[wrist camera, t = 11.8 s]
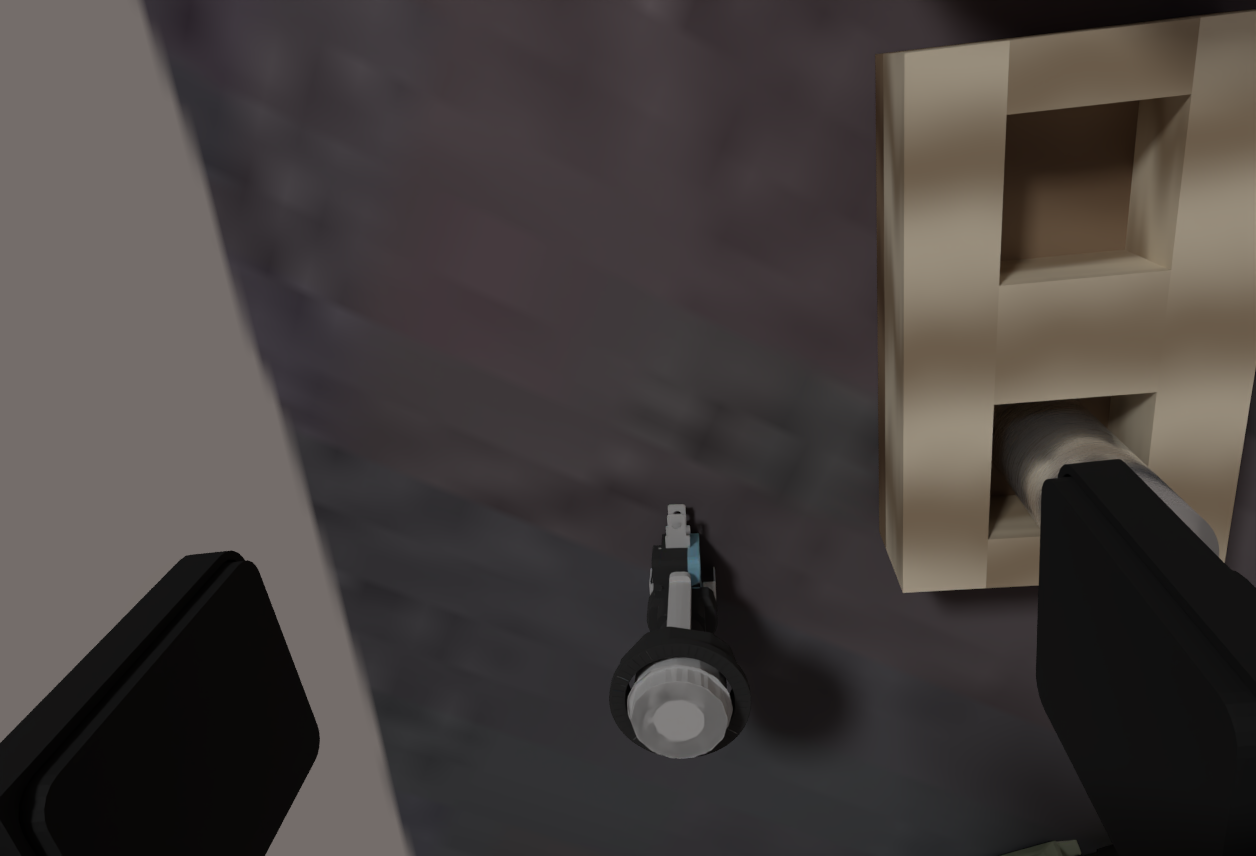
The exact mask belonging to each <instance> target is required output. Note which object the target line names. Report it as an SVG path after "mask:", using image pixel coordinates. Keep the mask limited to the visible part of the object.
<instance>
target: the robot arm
mask: <svg viewBox="0 0 1256 856" xmlns="http://www.w3.org/2000/svg"><path fill="white" fill-rule="evenodd" d="M1036 680H1037V687H1038V692H1039V696H1040V699H1041V702H1042V705H1043V707H1044V710H1045V712H1046V714H1047V715H1048V717H1049V719H1050V721H1051V723H1052V725H1053V727H1054V729H1055V731H1056V733H1057V735H1058V737H1059V739H1060V741H1061V743H1062V745H1063V747H1064V749H1065V751H1066V753H1067V755H1068V757H1069V759H1070V761H1071V763H1072V765H1073V767H1074V769H1075V770H1076V772H1077V774H1078V776H1079V778H1080V780H1081V782H1082V784H1083V786H1084V788H1085V790H1086V792H1087V794H1088V796H1089V798H1090V800H1091V802H1092V804H1093V806H1094V808H1095V810H1096V812H1097V814H1098V816H1099V818H1100V820H1101V822H1102V824H1103V826H1104V827H1105V829H1106V831H1107V833H1108V835H1109V837H1110V839H1111V841H1112V843H1113V845H1114V847H1115V849H1116V851H1117V853H1118V855H1119V856H1256V588H1255V587H1254V586H1253V585H1252V584H1251V583H1250V582H1249V581H1248V580H1247V579H1246V578H1245V577H1243V576H1242V575H1241V574H1239V573H1238V572H1236V571H1233V570H1231V569H1230V568H1229V567H1228V566H1227V565H1226V564H1225V563H1224V562H1223V561H1222V560H1221V559H1220V558H1219V557H1218V556H1217V555H1216V554H1215V553H1214V552H1213V551H1212V550H1211V549H1210V548H1209V547H1208V546H1207V545H1206V544H1205V543H1204V542H1203V541H1202V540H1201V539H1200V538H1199V537H1198V536H1197V535H1196V534H1195V533H1194V532H1193V531H1192V530H1191V529H1190V528H1189V527H1188V526H1187V525H1186V524H1185V523H1184V522H1183V521H1182V520H1181V519H1180V518H1179V517H1178V516H1177V515H1176V514H1175V513H1174V512H1173V511H1172V509H1171V508H1170V507H1169V506H1168V505H1167V504H1166V503H1165V502H1164V501H1163V500H1162V499H1161V498H1160V497H1159V496H1158V495H1157V494H1156V493H1155V492H1154V491H1153V490H1152V489H1151V488H1150V487H1149V486H1148V485H1147V484H1146V483H1145V482H1144V481H1143V480H1142V479H1141V478H1140V477H1139V476H1138V475H1137V474H1136V473H1135V472H1134V471H1133V470H1132V469H1131V468H1130V467H1129V466H1128V465H1127V464H1126V463H1125V462H1124V461H1122V460H1121V459H1112V460H1102V461H1092V462H1083V463H1073V464H1064V465H1063V466H1062V467H1061V468H1060V471H1059V474H1058V478H1054V479H1046V480H1045V481H1044V483H1043V486H1042V493H1041V523H1040V556H1039V590H1038V624H1037V657H1036ZM319 742H320V737H319V730H318V726H317V723H316V721H315V718H314V715H313V713H312V710H311V707H310V705H309V702H308V700H307V697H306V694H305V691H304V689H303V686H302V684H301V681H300V678H299V675H298V673H297V670H296V668H295V665H294V662H293V660H292V657H291V654H290V652H289V649H288V647H287V644H286V641H285V639H284V636H283V633H282V631H281V628H280V625H279V623H278V620H277V618H276V615H275V612H274V610H273V607H272V604H271V602H270V599H269V597H268V594H267V591H266V589H265V586H264V584H263V581H262V578H261V576H260V573H259V571H258V569H257V567H256V566H255V565H254V564H253V563H252V562H250V561H245V560H244V558H243V557H242V556H241V555H240V554H239V553H237V552H235V551H224V552H215V553H204V554H195V555H188V556H185V557H184V558H183V559H181V560H180V561H179V562H178V563H177V564H176V565H175V566H174V567H173V568H172V569H171V570H170V571H169V572H168V573H167V574H166V575H165V576H164V577H163V578H162V579H161V580H160V581H159V582H158V583H157V584H156V585H155V586H154V587H153V588H152V589H151V590H150V591H149V592H148V593H147V594H146V595H145V596H144V597H143V598H142V599H141V600H140V601H139V602H138V603H137V604H136V605H135V606H134V607H133V609H131V610H130V612H129V613H128V614H127V615H126V616H125V617H124V618H123V619H122V620H121V621H120V622H119V623H118V624H117V625H116V626H115V627H114V628H113V629H112V630H111V631H110V632H109V633H108V634H107V635H106V636H105V637H104V638H103V639H102V640H101V641H100V642H99V643H98V644H97V645H96V646H95V647H94V648H93V649H92V650H91V651H90V652H89V653H88V654H87V655H86V656H85V657H84V658H83V659H82V660H81V661H80V662H79V663H78V665H76V666H75V668H74V669H73V670H72V671H71V672H70V673H69V674H68V675H67V676H66V677H65V678H64V679H63V680H62V681H61V682H60V683H59V684H58V685H57V686H56V687H55V688H54V689H53V690H52V691H51V692H50V693H49V694H48V695H47V696H46V697H45V698H44V699H43V700H42V701H41V702H40V703H39V704H38V705H37V706H36V707H35V708H34V709H33V710H32V711H31V712H30V713H29V715H27V716H26V718H25V719H24V720H22V721H21V722H20V723H19V725H18V726H17V727H16V728H15V729H14V730H13V731H12V732H11V733H10V734H9V735H8V736H7V737H6V738H5V739H4V740H3V741H2V742H1V743H0V856H265V854H266V853H267V851H268V849H269V847H270V845H271V843H272V841H273V839H274V837H275V835H276V834H277V832H278V830H279V828H280V826H281V824H282V822H283V820H284V818H285V816H286V815H287V813H288V811H289V809H290V807H291V805H292V803H293V801H294V799H295V797H296V796H297V794H298V792H299V790H300V788H301V786H302V784H303V782H304V780H305V778H306V777H307V775H308V773H309V771H310V769H311V767H312V765H313V763H314V761H315V759H316V757H317V754H318V750H319Z"/></svg>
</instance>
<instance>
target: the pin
mask: <svg viewBox="0 0 1256 856" xmlns="http://www.w3.org/2000/svg"><path fill="white" fill-rule="evenodd" d="M1112 459H1121V460H1122V461H1124V462H1125V463H1126V464H1127V465H1128V466H1129V467H1130V468H1131V469H1132V470H1133V471H1134V472H1135V473H1136V474H1137V475H1138V476H1139V477H1140V478H1141V479H1142V480H1143V481H1144V482H1145V483H1146V484H1147V485H1148V486H1149V487H1150V488H1151V489H1152V490H1153V491H1154V492H1155V493H1156V494H1157V495H1158V496H1159V497H1160V498H1161V499H1162V500H1163V501H1164V502H1165V503H1166V504H1167V505H1168V506H1169V507H1170V508H1171V509H1172V511H1173V512H1174V513H1175V514H1176V515H1177V516H1178V517H1179V518H1180V519H1181V520H1182V521H1183V522H1184V523H1185V524H1186V525H1187V526H1188V527H1189V528H1190V529H1191V530H1192V531H1193V532H1194V533H1195V534H1196V535H1197V536H1198V537H1199V538H1200V539H1201V540H1202V541H1203V542H1204V543H1205V544H1206V545H1207V546H1208V547H1209V548H1210V549H1211V550H1212V551H1213V552H1214V553H1215V554H1216V555H1217V556H1218V557H1219V544H1218V540H1217V537H1216V535H1215V533H1214V531H1213V529H1212V528H1211V527H1210V525H1209V524H1208V523H1207V522H1206V521H1205V520H1204V519H1203V518H1202V517H1201V516H1200V515H1199V514H1198V513H1197V512H1195V511H1194V510H1193V509H1192V508H1191V507H1190V506H1189V505H1188V504H1187V503H1186V502H1185V501H1184V500H1183V499H1182V498H1181V497H1180V496H1178V495H1177V494H1176V493H1175V492H1174V491H1173V490H1172V489H1171V488H1170V487H1169V486H1168V485H1167V484H1166V483H1165V482H1164V481H1163V480H1161V479H1160V478H1159V477H1158V476H1157V475H1156V474H1155V473H1154V472H1153V471H1152V470H1151V469H1150V468H1149V467H1148V466H1147V465H1146V464H1145V463H1143V462H1142V461H1141V460H1140V459H1139V458H1138V457H1137V456H1136V455H1135V454H1134V453H1133V452H1132V451H1131V450H1130V449H1129V448H1128V447H1126V446H1125V445H1124V444H1123V443H1122V442H1121V441H1120V440H1119V439H1118V438H1117V437H1116V436H1115V435H1114V434H1113V433H1112V432H1111V431H1110V430H1108V429H1107V428H1106V427H1105V426H1104V425H1103V424H1102V423H1101V422H1100V421H1099V420H1098V419H1097V418H1096V417H1095V416H1094V415H1093V414H1091V413H1090V412H1089V411H1088V410H1087V409H1086V408H1085V407H1084V406H1083V405H1082V404H1081V403H1080V402H1079V401H1078V400H1077V399H1076V398H1075V399H1062V400H1050V401H1037V402H1024V403H1011V404H1000V405H999V406H998V407H997V408H996V410H995V411H994V414H993V437H992V461H993V462H994V464H995V465H996V467H997V468H998V469H999V471H1000V472H1001V474H1002V475H1003V477H1004V478H1005V479H1006V481H1007V482H1008V484H1009V485H1010V487H1011V488H1012V489H1013V491H1014V492H1015V494H1016V495H1017V497H1018V498H1019V499H1020V501H1021V502H1022V504H1023V505H1024V507H1025V508H1026V509H1027V511H1028V512H1029V514H1030V515H1031V517H1032V518H1033V519H1034V521H1035V522H1036V524H1037V525H1038V527H1039V528H1040V523H1041V493H1042V486H1043V483H1044V481H1045V480H1046V479H1054V478H1058V474H1059V471H1060V468H1061V467H1062V466H1063V465H1064V464H1073V463H1083V462H1092V461H1102V460H1112Z"/></svg>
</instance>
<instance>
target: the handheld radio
mask: <svg viewBox="0 0 1256 856" xmlns="http://www.w3.org/2000/svg"><path fill="white" fill-rule="evenodd" d="M1080 854H1081V851H1080V848H1079V845H1078V843H1077V840H1068V841H1058V842H1056V841H1051V842H1047V843H1044V844H1040V845H1037V846H1033V847H1029V848H1026V849H1022V850H1018V851H1015V852H1011V853H1007V854H1004V855H1000V856H1080ZM1085 856H1119V855H1118V853H1117V851H1116V849H1115V847H1114V845H1111V846H1108V847H1104V848H1100V849H1097V852H1096V853H1093V854H1089V855H1085Z"/></svg>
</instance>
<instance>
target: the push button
mask: <svg viewBox="0 0 1256 856" xmlns="http://www.w3.org/2000/svg"><path fill="white" fill-rule="evenodd" d="M675 511H679V512H681V514H673V513H674V512H675ZM667 522H668V526H666V534H663V535H662V545H659V546H653V553H652V569H651V570H650V583H649V586H650V597H649V602H648V611H647V623H648V627H649V630H650V632H648V633H646V634H645V635H644V636H643V637H642V638H641V639H640V640H639V641H638V642H637V643H636V644H635V645H634V646H633V647H632V648H631V649H630V650H629V651H628V652H627V653H626V654H625V656H624V657H623V658H622V659H621V662H620V665H619V666H618V668H617V669H616V671H615V673H614V675H613V678H612V682H611V687H610V695H609V702H610V709H611V713H612V716H613V718H614V720H615V722H616V724H617V725H618V727H619V728H620V730H621V731H622V732H623V733H624V734H625V735H626V736H627V737H628V738H629V739H630V740H631V741H632V742H634V743H635V744H637V745H638V746H640V747H642V748H644V749H646V750H648V751H650V752H653V753H656V754H659V755H663V756H667V757H670V758H680V759H683V758H693V757H698V756H703V755H706V754H710V753H712V752H715V751H717V750H719V749H721V748H723V747H725V746H726V745H728V744H729V743H730V742H732V741H733V740H734V739H735V738H736V737H737V736H738V735H739V734H740V732H741V731H742V730H743V728H744V727H745V725H746V723H747V720H748V718H749V714H750V710H751V695H750V688H749V684H748V681H747V678H746V676H745V674H744V672H743V671H742V669H741V668H740V666H739V665H738V664H737V662H736V660H735V657H734V655H733V653H732V650H731V648H730V647H729V645H727V644H726V643H724V642H723V641H722V640H720V639H719V638H717V637H716V636H715V635H713V634H714V633H715V631H716V627H717V619H718V618H717V602H716V579H715V567H713V575H714V581H713V582H703V587H702V580H701V561H700V543H699V533H691V534H690V525H686V509H685V505H684V504H673V505H669V506H668V516H667ZM635 674H636V675H635ZM634 675H635V684H634V686H633V688H632V690H631V689H630V686H629V682H630V680H631V679H632V677H633V676H634ZM726 679H727V680H728V682H729V683H730V685H731V687H732V690H731V692H730V694H729V692H728V691H727V685H726Z"/></svg>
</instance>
